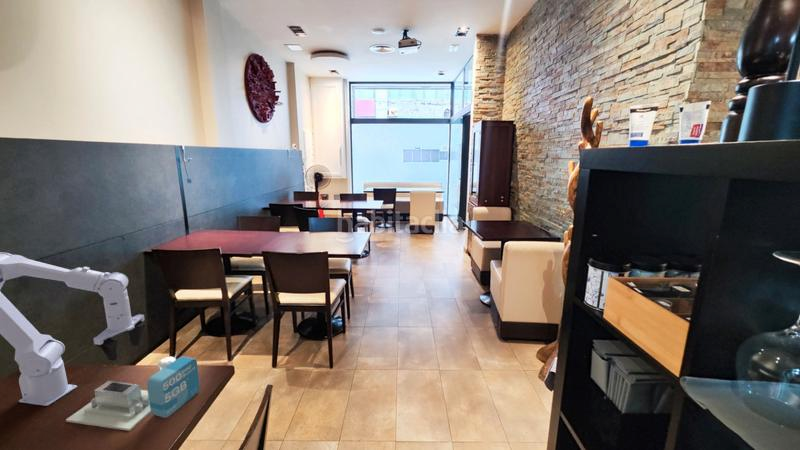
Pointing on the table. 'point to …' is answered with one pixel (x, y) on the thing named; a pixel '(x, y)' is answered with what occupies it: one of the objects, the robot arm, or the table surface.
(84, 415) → the dock tray
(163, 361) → the milkshake
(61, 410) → the table surface
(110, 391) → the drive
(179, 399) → the data package
